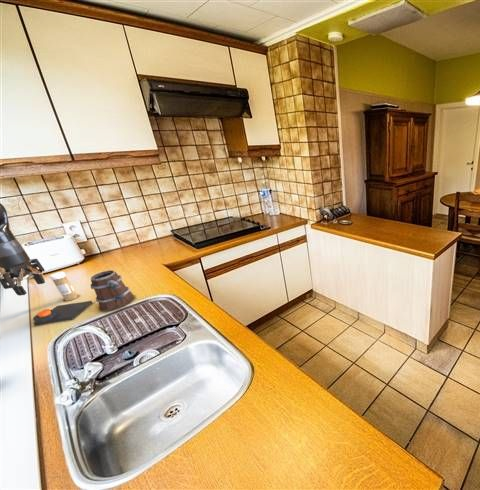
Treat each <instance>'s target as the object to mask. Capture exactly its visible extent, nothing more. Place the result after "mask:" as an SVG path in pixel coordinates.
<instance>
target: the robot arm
mask: <svg viewBox="0 0 480 490" xmlns="http://www.w3.org/2000/svg"><path fill="white" fill-rule="evenodd" d="M9 221H10V220H9V216H8V211H7V208H5V206H4V205H3V204H2V203H1V202H0V268H1V269H4V272H3V273H0V284H1V286H2V288H3V289H4V290H9V289H12V290H13V292H14V293H15V294H16V295H17V296H26V295H27V291H26V289H25V288H24V287H23V285H22V281H23V280H24V278H25V277H26V276H28V275H30V276H32V278H33V280H34V281H35V283H36V284H37V285H43V284H45V283H46V281H45V278H44V277H43V275H42V274H43V272H45V270H46V269H45V268H44V267H43V265H42V263H41V262H40V260H39V259H38V258H30V256H29V255H28V253H27V251H26V250H25V248H24V247H23V245H22V244H21V242H20V241H19V240H18V239H17V238H16V236H15V234H14V233H13V232H12V230H11V228H10V222H9Z"/></svg>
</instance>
